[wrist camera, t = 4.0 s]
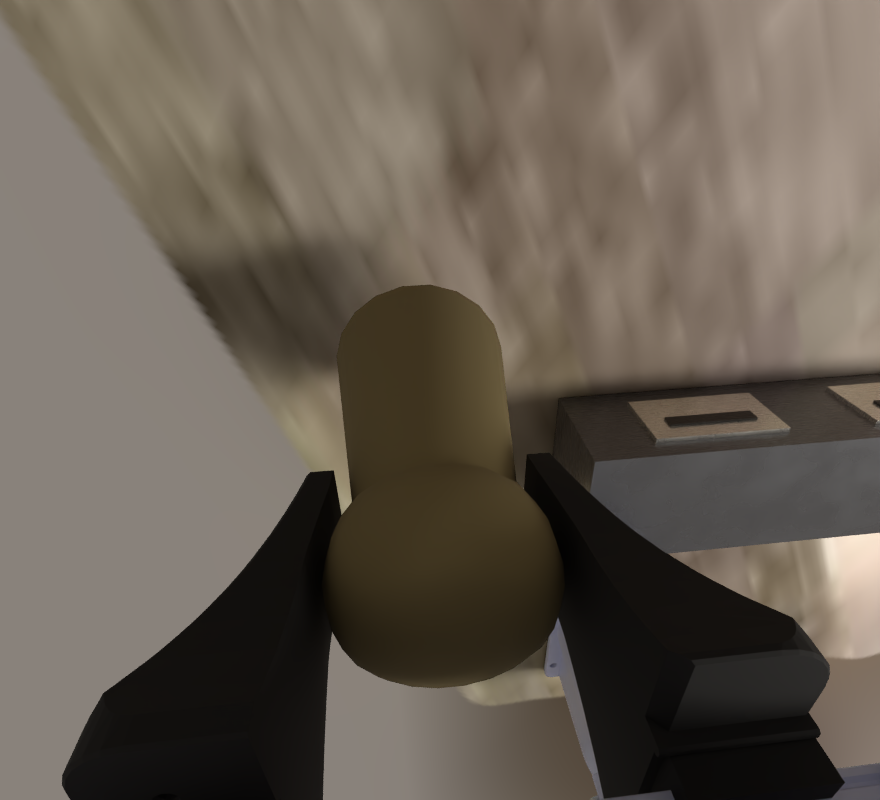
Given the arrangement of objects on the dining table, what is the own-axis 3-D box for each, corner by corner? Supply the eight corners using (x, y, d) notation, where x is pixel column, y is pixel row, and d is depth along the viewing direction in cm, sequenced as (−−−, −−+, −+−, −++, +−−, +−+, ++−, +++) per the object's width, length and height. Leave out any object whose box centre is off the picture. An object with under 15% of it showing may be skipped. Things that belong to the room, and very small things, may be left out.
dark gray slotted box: (919, 457, 30) (1009, 519, 25) (548, 490, 28) (578, 562, 24) (976, 361, 26) (1089, 414, 22) (559, 393, 25) (595, 456, 21)
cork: (302, 369, 19) (224, 674, 10) (414, 247, 16) (449, 493, 7) (424, 450, 21) (453, 748, 12) (534, 355, 19) (667, 631, 10)
